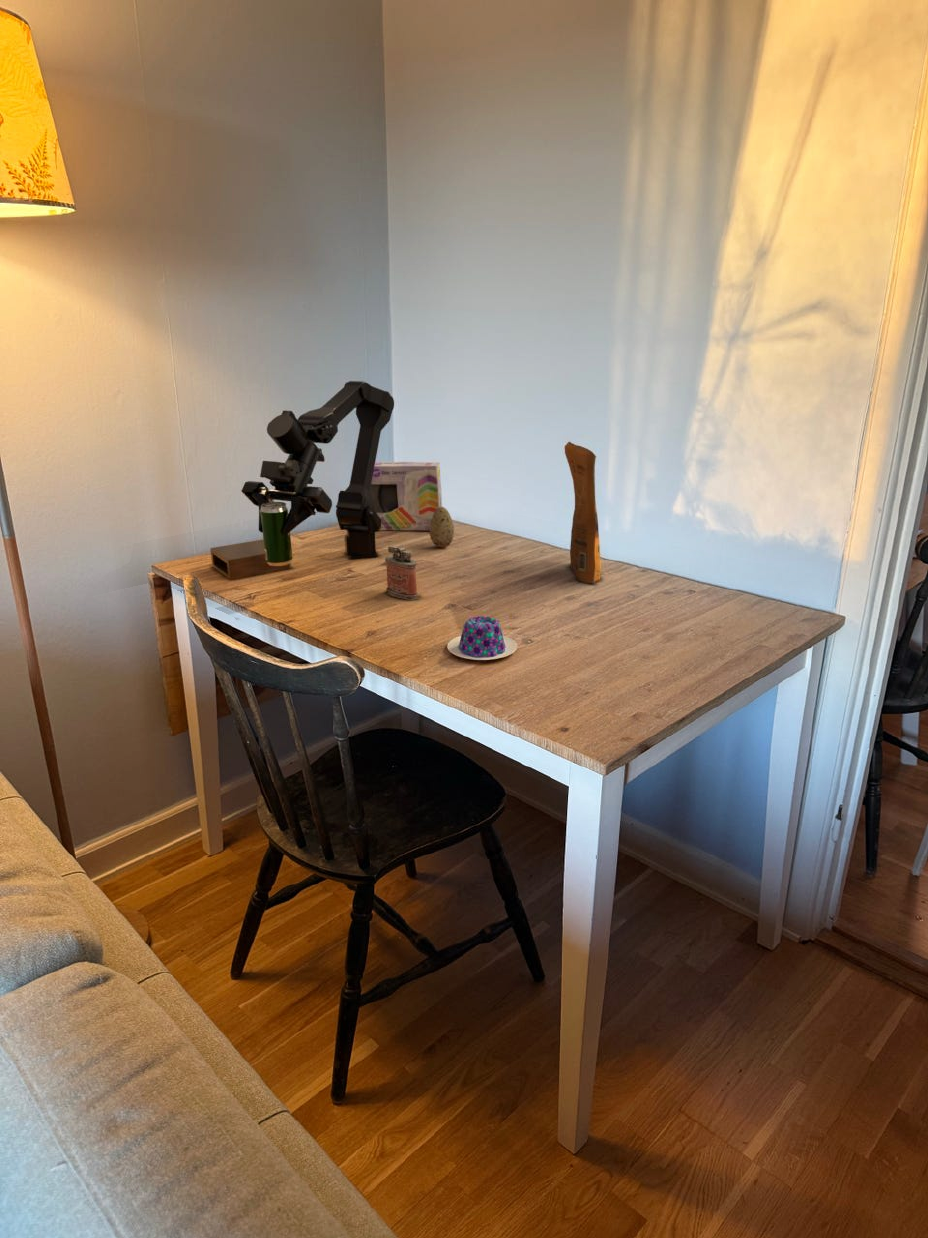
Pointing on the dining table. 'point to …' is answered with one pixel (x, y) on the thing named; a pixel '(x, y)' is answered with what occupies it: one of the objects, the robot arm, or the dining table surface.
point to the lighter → (401, 574)
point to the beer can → (275, 534)
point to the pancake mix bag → (584, 515)
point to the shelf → (242, 560)
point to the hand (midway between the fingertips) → (271, 532)
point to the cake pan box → (406, 494)
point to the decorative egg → (441, 528)
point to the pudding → (482, 640)
